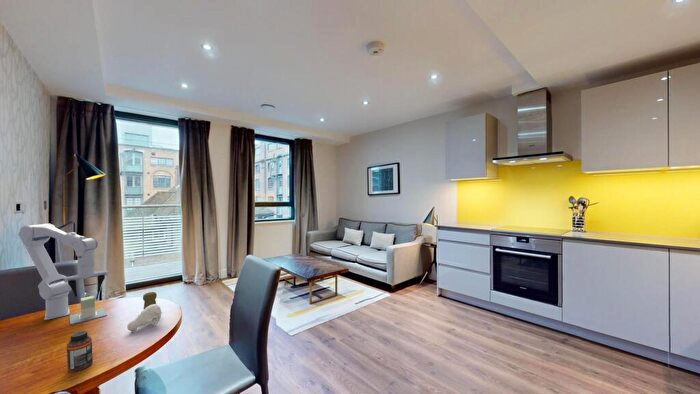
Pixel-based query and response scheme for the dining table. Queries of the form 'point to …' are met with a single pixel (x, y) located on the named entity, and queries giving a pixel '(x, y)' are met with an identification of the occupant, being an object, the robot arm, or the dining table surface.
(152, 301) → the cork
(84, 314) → the cream block
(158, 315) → the white lumpy piece
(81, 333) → the supplement bottle
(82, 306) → the sage block
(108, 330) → the dining table surface
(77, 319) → the plate
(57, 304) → the robot arm
